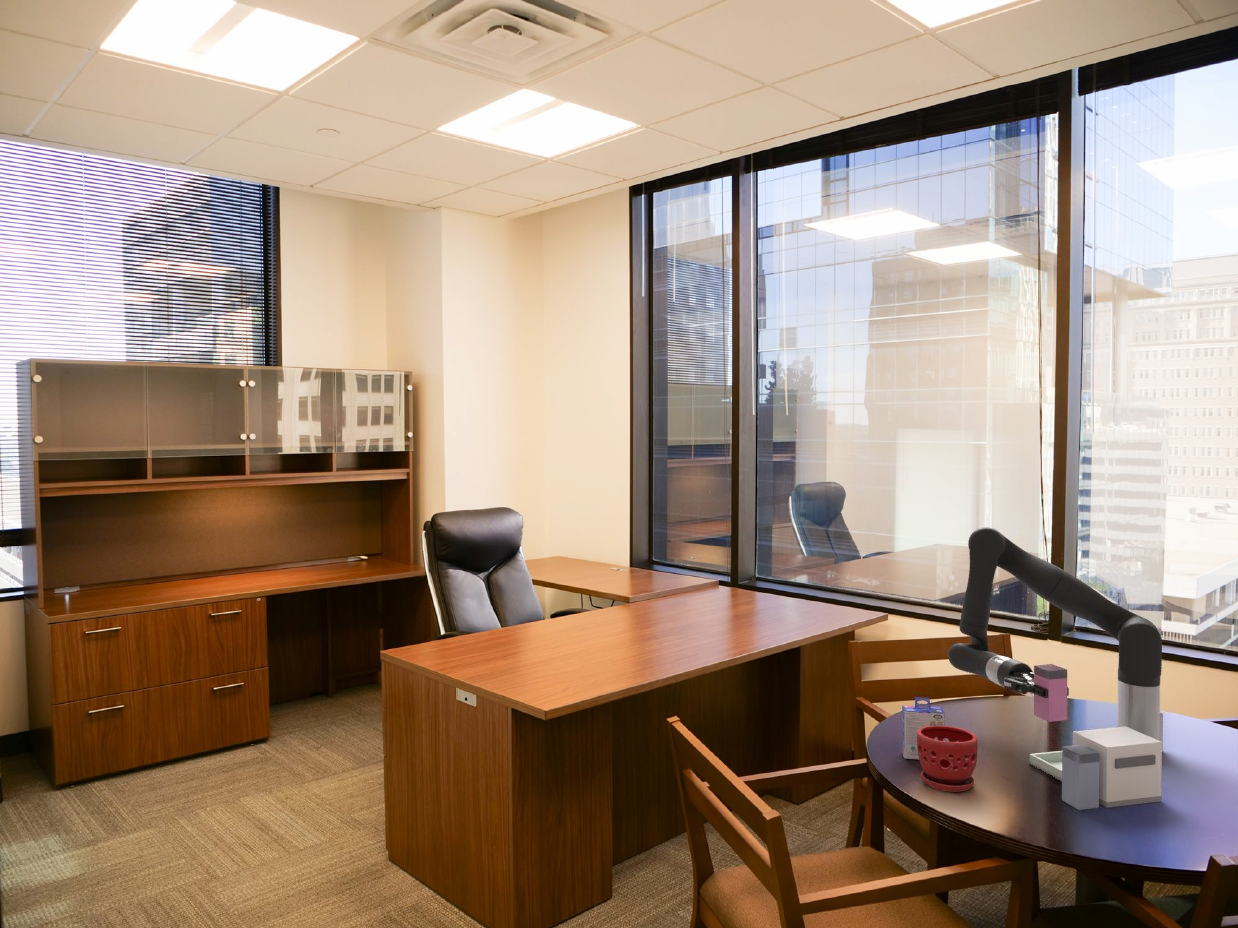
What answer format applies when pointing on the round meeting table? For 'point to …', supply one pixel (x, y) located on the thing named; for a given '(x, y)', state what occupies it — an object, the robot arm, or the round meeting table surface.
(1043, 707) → the magenta cartridge
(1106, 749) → the printer unit
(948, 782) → the plant pot
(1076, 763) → the slate blue cartridge
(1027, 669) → the robot arm
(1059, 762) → the parts tray
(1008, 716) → the round meeting table surface
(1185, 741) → the round meeting table surface
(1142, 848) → the round meeting table surface
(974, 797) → the round meeting table surface
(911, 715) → the ink cartridge box
